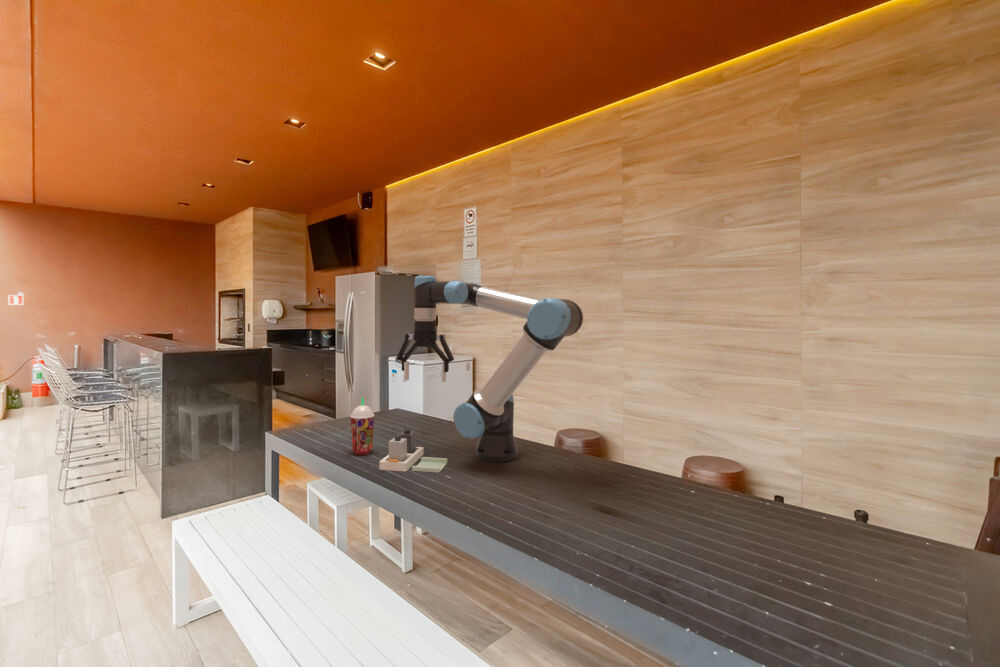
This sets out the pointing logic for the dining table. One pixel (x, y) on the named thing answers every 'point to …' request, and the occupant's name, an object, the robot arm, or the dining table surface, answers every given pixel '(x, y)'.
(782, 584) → the dining table surface
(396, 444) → the plug
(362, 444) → the smoothie
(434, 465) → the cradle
